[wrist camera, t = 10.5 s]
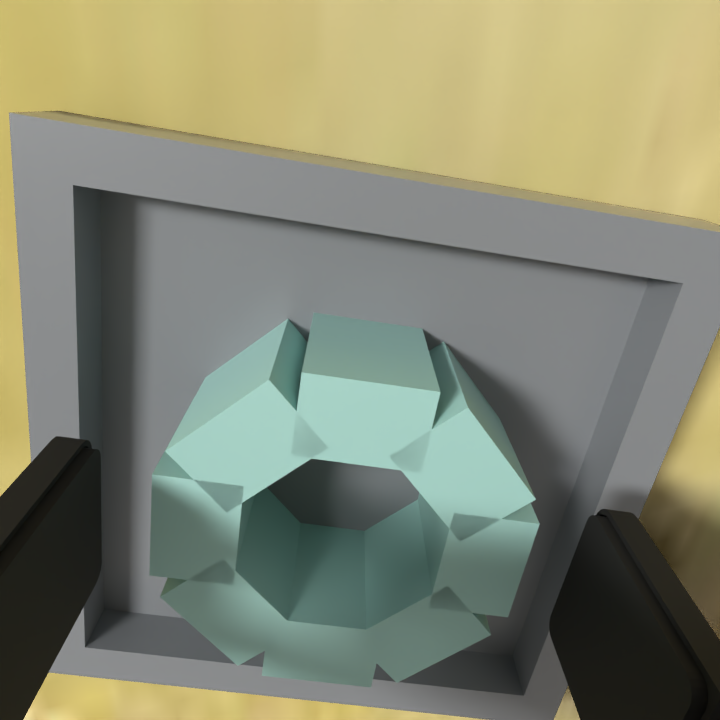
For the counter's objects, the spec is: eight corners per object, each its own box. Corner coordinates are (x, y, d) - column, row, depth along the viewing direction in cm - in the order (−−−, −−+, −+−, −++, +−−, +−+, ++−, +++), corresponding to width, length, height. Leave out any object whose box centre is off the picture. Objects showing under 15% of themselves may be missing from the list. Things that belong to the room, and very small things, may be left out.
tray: (703, 219, 12) (757, 238, 11) (532, 666, 17) (550, 726, 16) (59, 110, 12) (8, 112, 10) (75, 615, 17) (44, 672, 15)
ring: (530, 344, 13) (578, 411, 10) (458, 592, 16) (479, 698, 13) (200, 295, 12) (155, 351, 10) (185, 560, 15) (147, 663, 12)
